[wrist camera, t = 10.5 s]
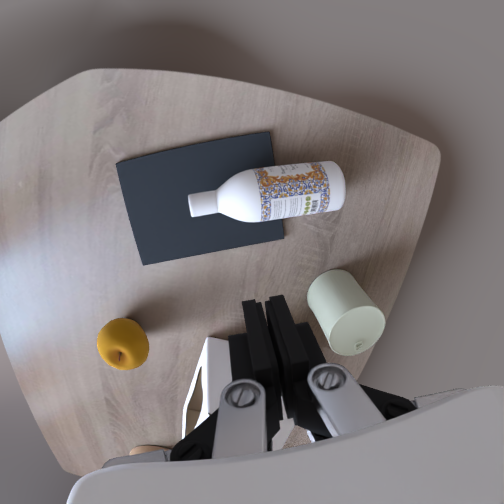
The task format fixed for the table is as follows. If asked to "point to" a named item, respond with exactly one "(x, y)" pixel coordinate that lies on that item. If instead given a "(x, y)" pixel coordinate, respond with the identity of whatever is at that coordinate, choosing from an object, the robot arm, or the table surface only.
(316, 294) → the can
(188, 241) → the mat
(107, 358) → the apple
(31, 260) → the table surface
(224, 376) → the gable box
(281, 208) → the bath foam
